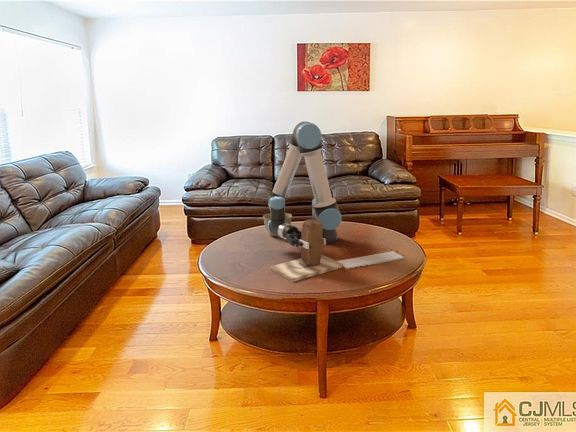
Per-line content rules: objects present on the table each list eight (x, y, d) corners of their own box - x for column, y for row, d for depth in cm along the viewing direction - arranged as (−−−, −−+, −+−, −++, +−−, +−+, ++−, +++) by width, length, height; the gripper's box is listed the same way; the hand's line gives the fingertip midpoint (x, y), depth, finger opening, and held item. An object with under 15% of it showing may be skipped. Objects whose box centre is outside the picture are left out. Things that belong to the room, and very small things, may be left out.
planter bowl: (286, 239, 254) (285, 220, 251) (259, 237, 259) (258, 218, 257) (296, 231, 268) (295, 213, 266) (270, 229, 274) (269, 211, 271)
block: (322, 266, 209) (324, 222, 205) (306, 267, 207) (309, 223, 203) (312, 258, 219) (315, 217, 215) (298, 259, 217) (300, 218, 213)
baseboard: (334, 262, 220) (346, 270, 209) (334, 256, 219) (346, 264, 208) (389, 252, 230) (404, 260, 220) (389, 246, 230) (404, 254, 219)
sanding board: (319, 256, 226) (319, 253, 226) (343, 267, 211) (343, 264, 211) (270, 269, 211) (270, 266, 211) (292, 281, 197) (292, 278, 196)
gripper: (306, 235, 232) (335, 247, 214) (270, 244, 221) (297, 257, 203) (306, 221, 230) (335, 231, 212) (269, 229, 219) (296, 240, 201)
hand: (316, 243), depth 207 cm, fingers closed on block, 9 cm apart
